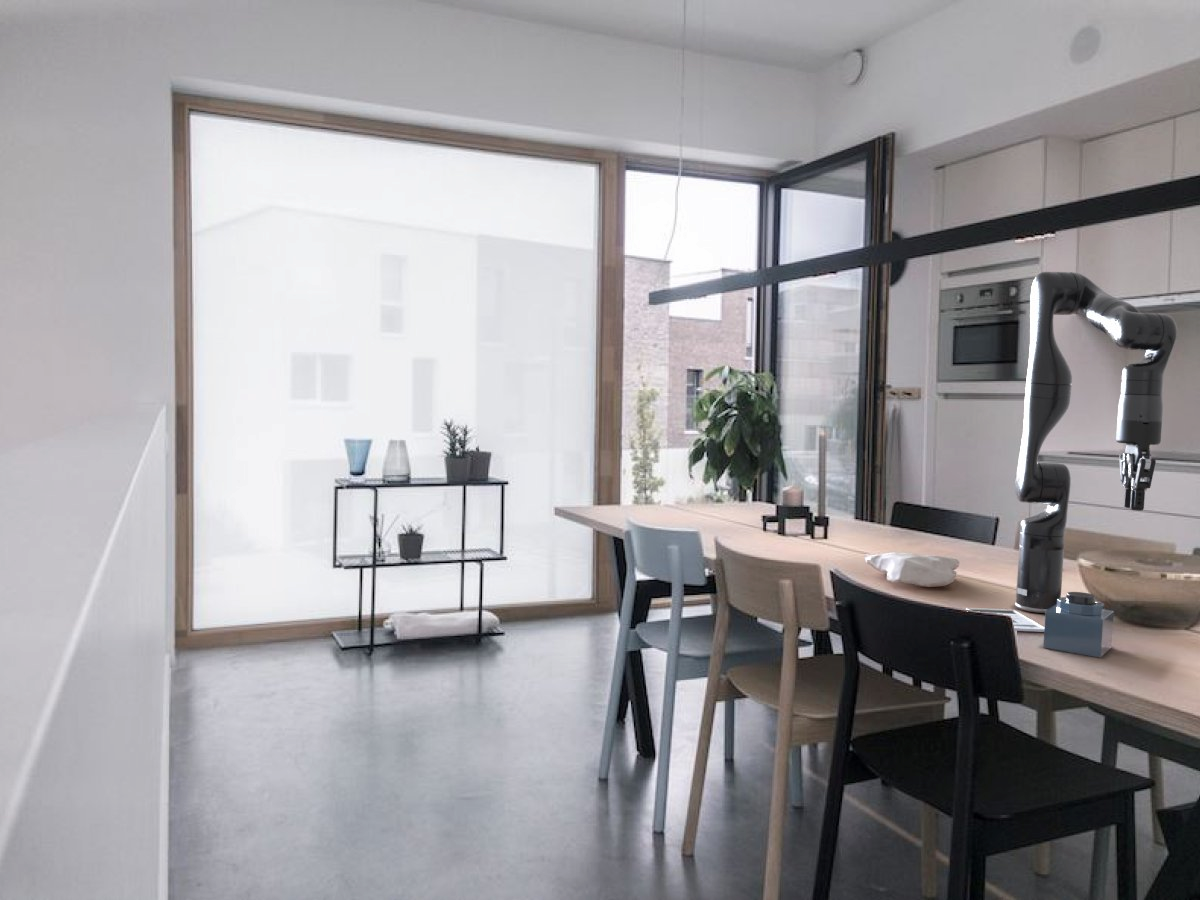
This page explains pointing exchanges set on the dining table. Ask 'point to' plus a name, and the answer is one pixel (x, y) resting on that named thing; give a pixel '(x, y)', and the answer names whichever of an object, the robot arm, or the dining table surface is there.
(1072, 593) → the button
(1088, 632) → the blue-grey box with cap
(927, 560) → the rock
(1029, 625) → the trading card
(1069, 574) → the dining table surface
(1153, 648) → the dining table surface
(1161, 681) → the dining table surface
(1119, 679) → the dining table surface
